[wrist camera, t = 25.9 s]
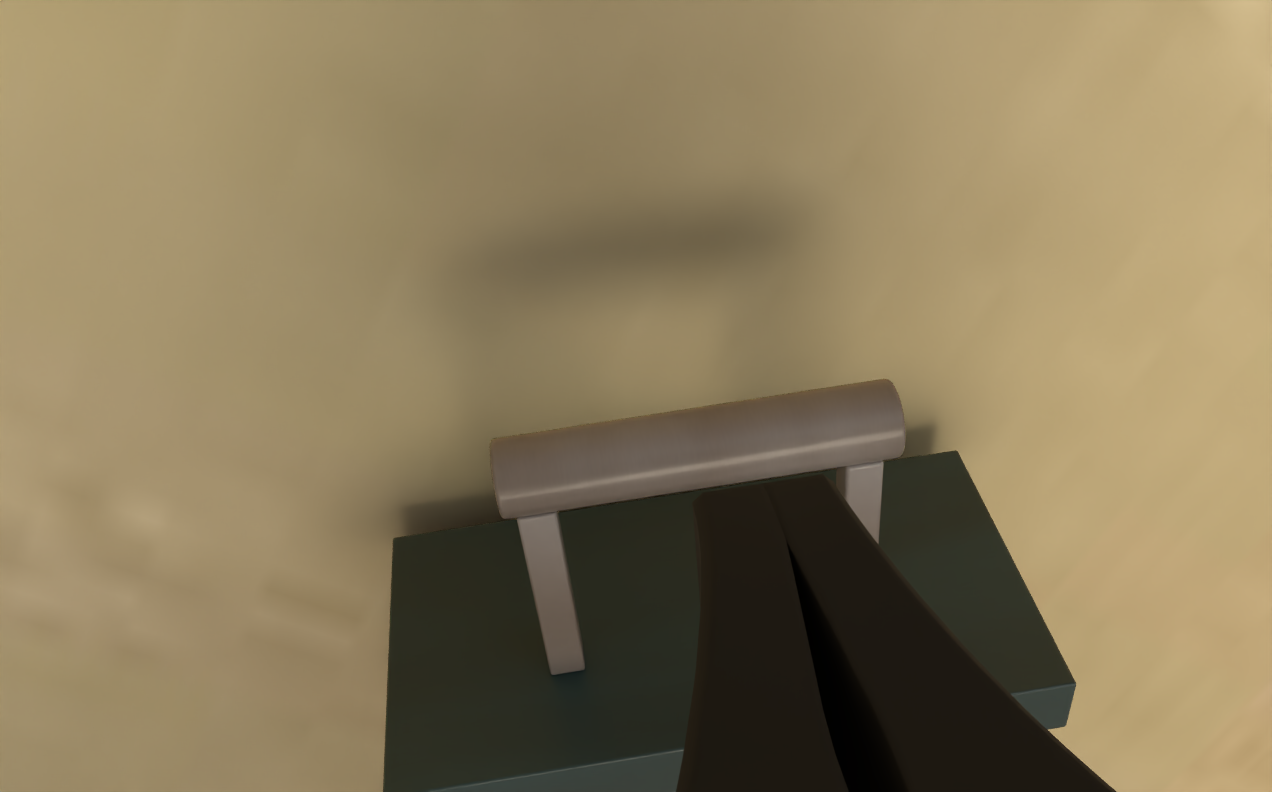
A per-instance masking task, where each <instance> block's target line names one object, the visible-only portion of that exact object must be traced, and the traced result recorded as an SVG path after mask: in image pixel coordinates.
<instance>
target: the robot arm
mask: <svg viewBox="0 0 1272 792" xmlns="http://www.w3.org/2000/svg"><path fill="white" fill-rule="evenodd" d="M692 505H693V518H694V531H695V544H696V557H697V570H698V583H699V596H700V609H701V610H700V622H699V635H698V648H697V660H696V671H695V679H694V687H693V694H692V700H691V707H690V713H689V720H688V726H687V733H686V739H685V746H684V752H683V758H682V763H681V768H680V774H679V779H678V784H677V789H676V792H1116V791H1115V790H1114V789H1113V788H1112V787H1110V786H1109V785H1108V784H1107V783H1106V782H1104V781H1103V780H1102V779H1101V778H1100V777H1099V776H1098V775H1097V774H1095V773H1094V772H1093V771H1092V770H1091V769H1090V768H1089V767H1088V766H1086V765H1085V764H1084V763H1083V762H1082V761H1081V760H1080V759H1079V758H1077V757H1076V756H1075V755H1074V754H1073V753H1072V752H1071V751H1070V750H1068V749H1067V748H1066V747H1065V746H1064V745H1063V744H1062V743H1061V742H1060V741H1059V740H1058V739H1057V738H1055V737H1054V736H1053V735H1052V734H1051V733H1050V732H1049V731H1048V730H1047V729H1046V728H1045V727H1044V726H1043V725H1042V724H1041V723H1040V722H1039V721H1038V720H1036V719H1035V718H1034V717H1033V716H1032V715H1031V714H1030V713H1029V712H1028V711H1027V710H1026V709H1025V708H1024V707H1023V706H1022V705H1021V704H1020V703H1019V702H1018V701H1017V700H1016V699H1015V698H1014V697H1013V696H1012V695H1011V694H1010V693H1009V692H1008V691H1007V690H1006V689H1005V688H1004V687H1003V686H1002V685H1001V684H1000V683H999V682H998V681H997V680H996V679H995V678H994V677H993V676H992V675H991V674H990V673H989V672H988V670H987V669H986V668H985V667H984V666H983V665H982V664H981V663H980V662H979V661H978V660H977V659H976V658H975V657H974V656H973V655H972V653H971V652H970V651H969V650H968V649H967V648H966V647H965V646H964V645H963V644H962V643H961V642H960V641H959V639H958V638H957V637H956V636H955V635H954V634H953V633H952V631H951V630H950V629H949V628H948V627H947V626H946V625H945V624H944V622H943V621H942V620H941V619H940V618H939V617H938V616H937V614H936V613H935V612H934V611H933V610H932V609H931V608H930V607H929V605H928V604H927V603H926V602H925V601H924V600H923V599H922V597H921V596H920V595H919V594H918V593H917V592H916V590H915V589H914V588H913V587H912V586H911V584H910V583H909V582H908V581H907V580H906V578H905V577H904V576H903V575H902V574H901V572H900V571H899V570H898V569H897V567H896V566H895V565H894V564H893V562H892V561H891V560H890V558H889V557H888V556H887V555H886V553H885V552H884V551H883V550H882V548H881V547H880V546H879V545H878V543H877V542H876V541H875V539H874V538H873V537H872V535H871V534H870V533H869V532H868V530H867V529H866V528H865V526H864V525H863V523H862V522H861V521H860V519H859V518H858V517H857V515H856V514H855V513H854V511H853V510H852V508H851V507H850V505H849V504H848V503H847V501H846V500H845V498H844V497H843V495H842V494H841V493H840V491H839V490H838V488H837V486H836V485H835V483H834V482H833V481H832V480H831V479H829V478H828V477H826V476H825V475H823V474H820V475H814V476H807V477H801V478H794V479H788V480H781V481H775V482H768V483H762V484H755V485H749V486H742V487H735V488H729V489H722V490H716V491H709V492H703V493H702V494H701V495H700V496H699V497H698V498H696V499H695V500H694V501H693V502H692Z"/></svg>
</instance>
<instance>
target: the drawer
mask: <svg viewBox="0 0 1272 792" xmlns="http://www.w3.org/2000/svg"><path fill="white" fill-rule="evenodd" d="M905 440H906V432H905V421H904V414H903V409H902V405H901V401H900V398H899V395H898V393H897V391H896V388H895V387H894V385H893V383H892V382H891V381H890V380H888V379H880V380H873V381H867V382H860V383H854V384H847V385H841V386H834V387H828V388H821V389H815V390H808V391H801V392H795V393H788V394H782V395H775V396H769V397H762V398H756V399H749V400H743V401H736V402H730V403H723V404H716V405H710V406H703V407H697V408H690V409H684V410H677V411H671V412H664V413H658V414H651V415H645V416H638V417H631V418H625V419H618V420H612V421H605V422H599V423H592V424H586V425H579V426H573V427H566V428H560V429H553V430H546V431H540V432H533V433H527V434H520V435H514V436H507V437H501V438H494V439H492V440H491V442H490V462H491V471H492V478H493V485H494V491H495V496H496V501H497V506H498V510H499V513H500V515H501V517H502V518H503V519H511V518H517V519H513V520H507V521H500V522H494V523H487V524H481V525H475V526H468V527H462V528H455V529H449V530H443V531H436V532H430V533H423V534H417V535H411V536H404V537H398V538H394V539H393V552H392V578H391V603H390V629H389V654H388V680H387V705H386V731H385V756H384V782H383V792H676V789H677V784H678V779H679V774H680V768H681V763H682V758H683V752H684V746H685V739H686V733H687V726H688V720H689V713H690V707H691V700H692V694H693V687H694V679H695V671H696V660H697V648H698V635H699V622H700V610H701V609H700V596H699V583H698V570H697V557H696V544H695V531H694V518H693V505H692V502H693V501H694V500H695V499H696V498H698V497H699V496H700V495H701V494H702V493H703V492H709V491H716V490H722V489H729V488H735V487H742V486H749V485H755V484H762V483H768V482H775V481H781V480H788V479H794V478H801V477H807V476H814V475H820V474H823V475H825V476H826V477H828V478H829V479H831V480H832V481H833V482H834V483H835V485H836V486H837V488H838V490H839V491H840V493H841V494H842V495H843V497H844V498H845V500H846V501H847V503H848V504H849V505H850V507H851V508H852V510H853V511H854V513H855V514H856V515H857V517H858V518H859V519H860V521H861V522H862V523H863V525H864V526H865V528H866V529H867V530H868V532H869V533H870V534H871V535H872V537H873V538H874V539H875V541H876V542H877V543H878V545H879V546H880V547H881V548H882V550H883V551H884V552H885V553H886V555H887V556H888V557H889V558H890V560H891V561H892V562H893V564H894V565H895V566H896V567H897V569H898V570H899V571H900V572H901V574H902V575H903V576H904V577H905V578H906V580H907V581H908V582H909V583H910V584H911V586H912V587H913V588H914V589H915V590H916V592H917V593H918V594H919V595H920V596H921V597H922V599H923V600H924V601H925V602H926V603H927V604H928V605H929V607H930V608H931V609H932V610H933V611H934V612H935V613H936V614H937V616H938V617H939V618H940V619H941V620H942V621H943V622H944V624H945V625H946V626H947V627H948V628H949V629H950V630H951V631H952V633H953V634H954V635H955V636H956V637H957V638H958V639H959V641H960V642H961V643H962V644H963V645H964V646H965V647H966V648H967V649H968V650H969V651H970V652H971V653H972V655H973V656H974V657H975V658H976V659H977V660H978V661H979V662H980V663H981V664H982V665H983V666H984V667H985V668H986V669H987V670H988V672H989V673H990V674H991V675H992V676H993V677H994V678H995V679H996V680H997V681H998V682H999V683H1000V684H1001V685H1002V686H1003V687H1004V688H1005V689H1006V690H1007V691H1008V692H1009V693H1010V694H1011V695H1012V696H1013V697H1014V698H1015V699H1016V700H1017V701H1018V702H1019V703H1020V704H1021V705H1022V706H1023V707H1024V708H1025V709H1026V710H1027V711H1028V712H1029V713H1030V714H1031V715H1032V716H1033V717H1034V718H1035V719H1036V720H1038V721H1039V722H1040V723H1041V724H1042V725H1043V726H1044V727H1045V728H1046V729H1047V730H1048V729H1054V728H1060V727H1064V726H1066V723H1067V719H1068V715H1069V711H1070V707H1071V703H1072V699H1073V695H1074V691H1075V687H1076V682H1075V680H1074V678H1073V677H1072V675H1071V673H1070V671H1069V669H1068V667H1067V665H1066V663H1065V661H1064V659H1063V657H1062V655H1061V653H1060V651H1059V649H1058V647H1057V645H1056V643H1055V641H1054V639H1053V637H1052V635H1051V633H1050V631H1049V630H1048V628H1047V626H1046V624H1045V622H1044V620H1043V618H1042V616H1041V614H1040V612H1039V610H1038V608H1037V606H1036V604H1035V602H1034V600H1033V598H1032V596H1031V594H1030V592H1029V590H1028V588H1027V586H1026V585H1025V583H1024V581H1023V579H1022V577H1021V575H1020V573H1019V571H1018V569H1017V567H1016V565H1015V563H1014V561H1013V559H1012V557H1011V555H1010V553H1009V551H1008V549H1007V547H1006V545H1005V543H1004V541H1003V539H1002V538H1001V536H1000V534H999V532H998V530H997V528H996V526H995V524H994V522H993V520H992V518H991V516H990V514H989V512H988V510H987V508H986V506H985V504H984V502H983V500H982V498H981V496H980V494H979V492H978V491H977V489H976V487H975V485H974V483H973V481H972V479H971V477H970V475H969V473H968V471H967V469H966V467H965V465H964V463H963V461H962V459H961V457H960V455H959V453H958V451H949V452H942V453H936V454H929V455H923V456H917V457H910V458H904V459H897V460H891V461H885V462H883V460H889V459H895V458H899V457H900V456H902V454H903V452H904V448H905ZM831 468H837V469H833V470H827V471H821V472H814V473H808V474H801V475H795V476H788V477H782V478H776V479H769V480H763V481H756V482H750V483H744V484H737V485H731V486H724V487H718V488H712V489H705V490H699V491H692V492H686V493H680V494H673V495H667V496H660V497H654V498H648V499H641V500H635V501H628V502H622V503H616V504H609V505H603V506H596V507H590V508H583V509H577V510H571V511H564V512H558V511H562V510H568V509H575V508H581V507H588V506H594V505H600V504H607V503H613V502H620V501H626V500H632V499H639V498H645V497H652V496H658V495H664V494H671V493H677V492H684V491H690V490H697V489H703V488H709V487H716V486H722V485H729V484H735V483H741V482H748V481H754V480H761V479H767V478H773V477H780V476H786V475H793V474H799V473H805V472H812V471H818V470H825V469H831Z"/></svg>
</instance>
